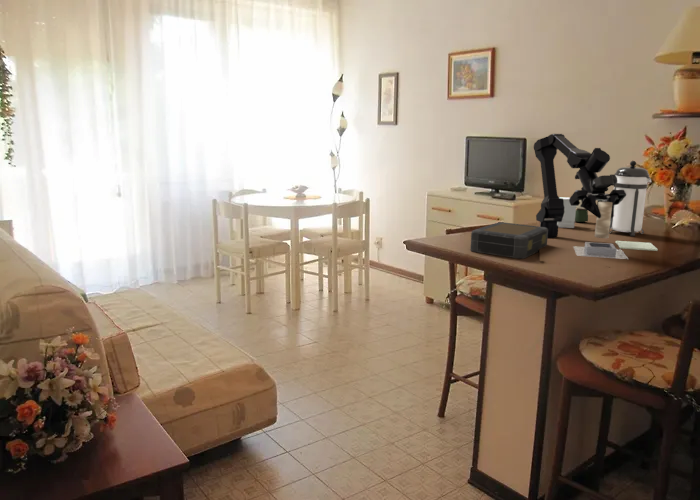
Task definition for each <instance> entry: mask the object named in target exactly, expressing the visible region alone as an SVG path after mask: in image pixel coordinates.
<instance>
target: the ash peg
mask: <svg viewBox="0 0 700 500" xmlns="http://www.w3.org/2000/svg"><path fill="white" fill-rule="evenodd" d="M597 202H598V201H597ZM598 209H599V211H600V214H601V217H600V218H598V217H596V221H595V229H594V238H597V239H609V236H610V234H609V232H610V230H611V229H610V220H611V211H612V202H605V201H600V202H598ZM609 229H610V230H609Z"/></svg>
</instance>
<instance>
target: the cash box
mask: <svg viewBox="0 0 700 500" xmlns="http://www.w3.org/2000/svg"><path fill="white" fill-rule="evenodd" d="M470 234H471V235H470V249H469V250H470V252H474V253H480V254H486V255H493V256H499V257H506V258H511V259H517V260H523V259H526V258H528V257H531V256H532V255H534V254H536V253H539V252H540V250H541V249H543V248H544V247H547V246H548V229H547V228H546V227H540V226H539V225H538V226H536V225H528V224H521V223H520V224H519V223H510V222H503V221H502V222H501V221H498V222H495V223H492V224H488V225H485V226H482V227H480V228H475V229H474V230H472V231H471V233H470Z"/></svg>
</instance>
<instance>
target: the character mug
mask: <svg viewBox="0 0 700 500" xmlns="http://www.w3.org/2000/svg"><path fill="white" fill-rule="evenodd" d="M579 201H580V204H579V205H578V206H576V214H575V222H576V223H582V222H583V223H585V222H589V211H588V210H586V209H585V208H583V207H581V206H580V205H581V204H582V201H581V200H579Z"/></svg>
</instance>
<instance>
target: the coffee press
mask: <svg viewBox="0 0 700 500" xmlns="http://www.w3.org/2000/svg"><path fill="white" fill-rule="evenodd" d="M629 164H630V166H624V167H623V166H622V167H619V168H618V169H617V170H616V171H615V172H614V174H615V176H616V177H617V183H616V184H614V185H611V186H613V190H624V191H625V193H626V196H625V197H624V199H623V200H622V201H621V202H620V203H619V204H617V205H614V217H613V218H611V220H610V229H609V235H610V234H612V233H613V232H622V233H628V235H629V236H630V237H632V238H633V237H634V238H635V236H636V233H639V234H640V235H643V234H644V233H645V231H644V229H643V220H644V213H645V205H646V197H647V189H648V186H649V184H648V183H652V179H651V177H650V173H649V171H648V170H647V169H646V168H644V167H637V166H636V165H637V162H636V161H635V160H632V161H630V163H629ZM600 201H602V200H597V201H596V204H597V206H598V202H600ZM610 230H611V231H610Z"/></svg>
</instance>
